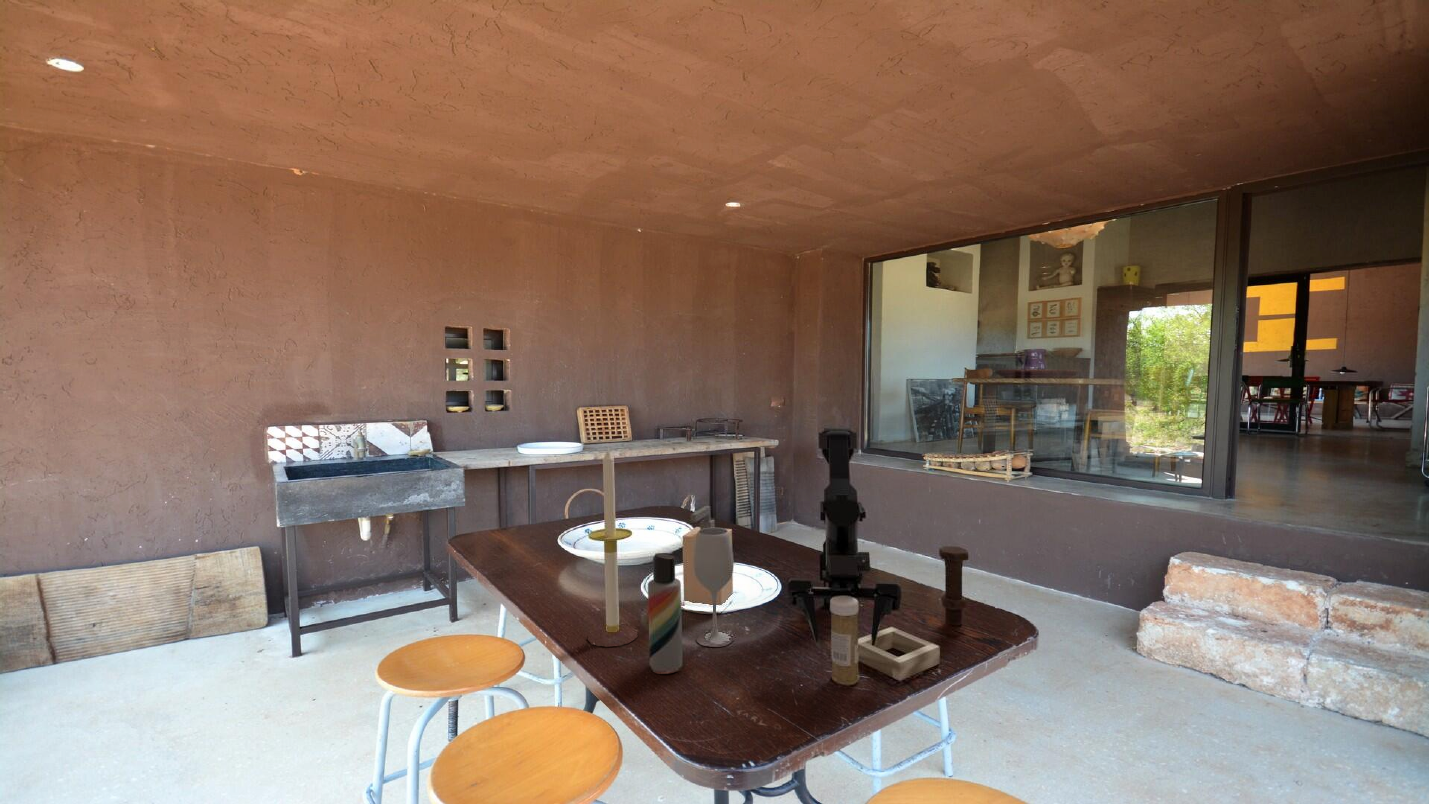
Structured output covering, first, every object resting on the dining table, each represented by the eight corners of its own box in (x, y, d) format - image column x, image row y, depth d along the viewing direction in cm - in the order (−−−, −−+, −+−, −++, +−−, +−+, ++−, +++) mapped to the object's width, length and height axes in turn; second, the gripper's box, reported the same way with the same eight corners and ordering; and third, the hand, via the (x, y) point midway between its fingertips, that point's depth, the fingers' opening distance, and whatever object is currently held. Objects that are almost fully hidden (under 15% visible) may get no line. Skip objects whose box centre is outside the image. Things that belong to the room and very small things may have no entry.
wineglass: (739, 634, 122) (737, 527, 121) (727, 650, 115) (725, 537, 114) (703, 629, 125) (701, 525, 124) (689, 645, 117) (687, 535, 117)
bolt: (970, 630, 122) (969, 554, 121) (942, 628, 123) (942, 553, 122) (964, 618, 128) (964, 546, 127) (938, 617, 129) (938, 545, 128)
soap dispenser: (697, 596, 143) (695, 501, 143) (733, 600, 141) (731, 503, 140) (676, 617, 131) (673, 513, 131) (714, 621, 129) (712, 515, 128)
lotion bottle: (650, 661, 111) (647, 550, 110) (682, 659, 112) (679, 548, 111) (649, 676, 106) (646, 559, 105) (683, 674, 106) (680, 558, 105)
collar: (899, 680, 102) (899, 663, 102) (852, 657, 111) (852, 641, 111) (939, 663, 108) (939, 646, 108) (891, 642, 117) (891, 626, 117)
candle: (576, 637, 122) (571, 446, 120) (617, 622, 129) (612, 441, 128) (608, 652, 115) (602, 450, 114) (649, 635, 122) (644, 445, 121)
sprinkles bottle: (864, 680, 103) (864, 600, 102) (845, 689, 100) (844, 606, 100) (844, 670, 107) (843, 592, 106) (825, 678, 104) (824, 598, 103)
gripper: (787, 532, 108) (784, 619, 97) (899, 534, 105) (908, 625, 94) (790, 563, 116) (788, 647, 106) (894, 566, 113) (902, 654, 102)
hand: (844, 643), depth 102 cm, fingers open, 9 cm apart
